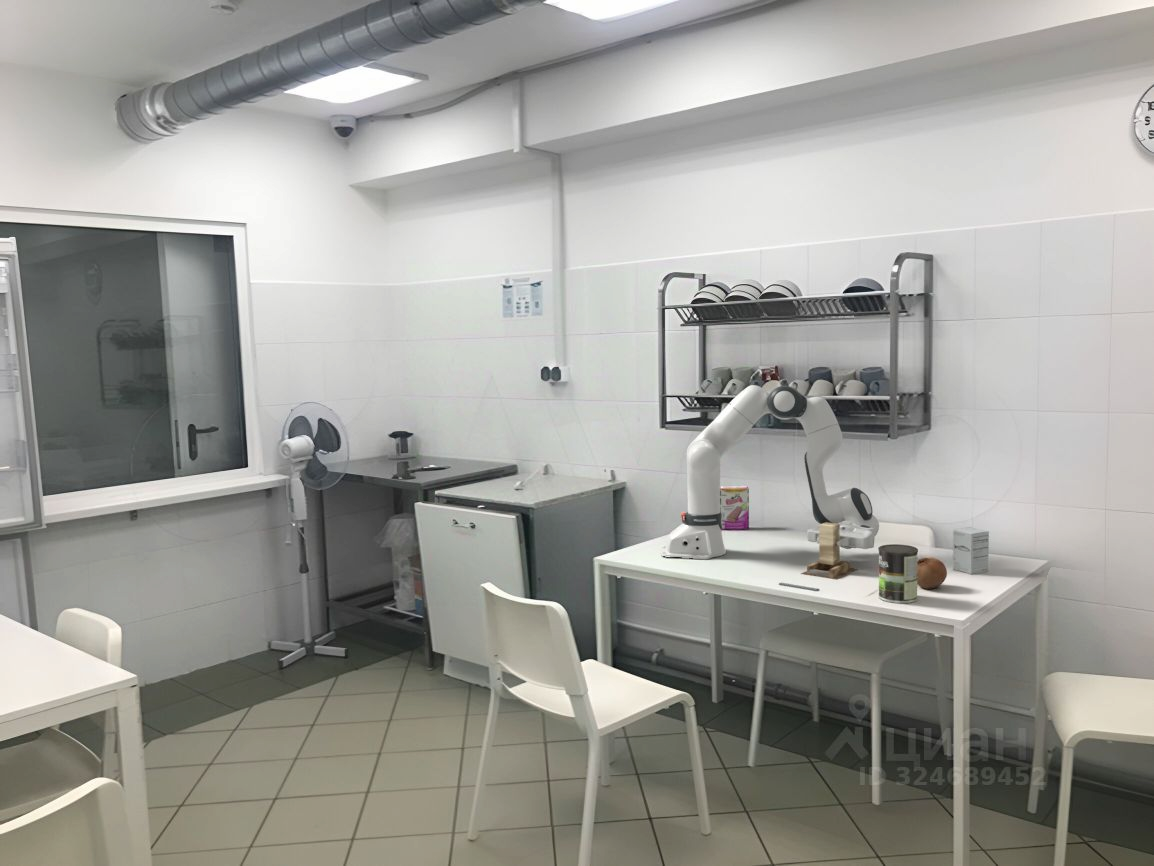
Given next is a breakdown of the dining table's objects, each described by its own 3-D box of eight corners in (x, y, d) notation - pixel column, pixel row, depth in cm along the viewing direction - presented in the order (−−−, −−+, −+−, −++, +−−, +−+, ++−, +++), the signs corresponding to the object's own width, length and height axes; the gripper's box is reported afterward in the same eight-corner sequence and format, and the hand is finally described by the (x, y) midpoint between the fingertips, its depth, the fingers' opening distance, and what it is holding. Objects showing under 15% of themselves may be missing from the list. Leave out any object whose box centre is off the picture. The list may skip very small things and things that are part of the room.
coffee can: (885, 604, 244) (885, 553, 242) (873, 593, 254) (873, 544, 253) (923, 603, 244) (923, 552, 242) (910, 592, 254) (910, 543, 252)
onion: (920, 600, 256) (908, 571, 254) (916, 583, 265) (904, 555, 262) (954, 590, 253) (942, 561, 251) (949, 573, 262) (936, 544, 259)
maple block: (833, 565, 275) (832, 526, 274) (819, 563, 278) (819, 524, 277) (839, 562, 278) (839, 523, 277) (826, 560, 281) (826, 522, 280)
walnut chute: (836, 581, 268) (836, 571, 268) (800, 575, 276) (800, 565, 276) (858, 570, 279) (858, 561, 279) (823, 565, 287) (823, 556, 287)
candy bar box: (720, 530, 346) (719, 488, 344) (719, 527, 351) (718, 486, 349) (749, 530, 345) (748, 487, 343) (748, 527, 350) (747, 485, 348)
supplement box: (952, 569, 277) (952, 529, 276) (970, 566, 280) (970, 526, 279) (971, 574, 270) (971, 533, 269) (989, 571, 273) (989, 530, 272)
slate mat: (816, 590, 259) (816, 589, 259) (779, 584, 267) (778, 583, 267) (835, 581, 268) (835, 580, 268) (798, 576, 276) (798, 574, 276)
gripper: (818, 521, 293) (797, 528, 283) (878, 528, 280) (859, 536, 270) (818, 540, 294) (797, 548, 284) (878, 548, 280) (859, 556, 270)
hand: (828, 542), depth 277 cm, fingers closed on maple block, 4 cm apart
